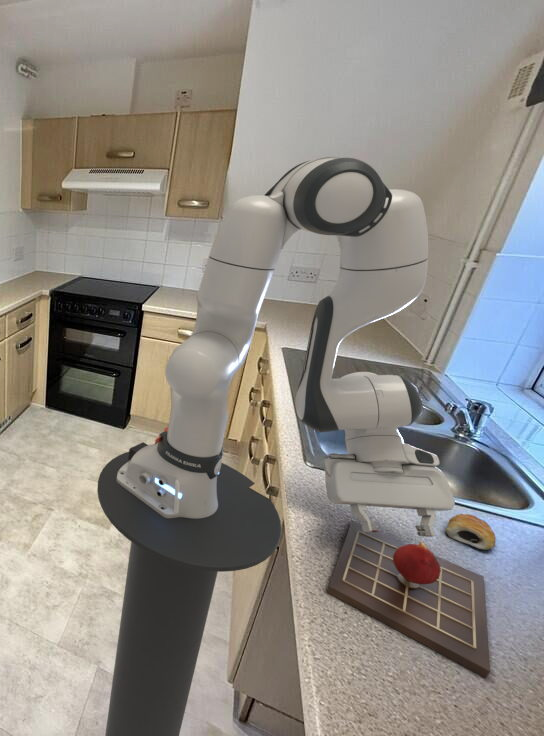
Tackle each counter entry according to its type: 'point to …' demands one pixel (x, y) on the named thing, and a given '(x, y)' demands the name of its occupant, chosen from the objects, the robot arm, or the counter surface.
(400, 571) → the onion
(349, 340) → the counter surface
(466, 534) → the pastry
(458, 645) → the grid board
